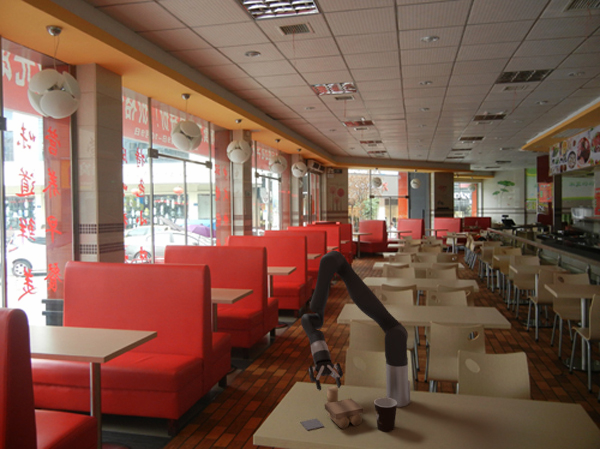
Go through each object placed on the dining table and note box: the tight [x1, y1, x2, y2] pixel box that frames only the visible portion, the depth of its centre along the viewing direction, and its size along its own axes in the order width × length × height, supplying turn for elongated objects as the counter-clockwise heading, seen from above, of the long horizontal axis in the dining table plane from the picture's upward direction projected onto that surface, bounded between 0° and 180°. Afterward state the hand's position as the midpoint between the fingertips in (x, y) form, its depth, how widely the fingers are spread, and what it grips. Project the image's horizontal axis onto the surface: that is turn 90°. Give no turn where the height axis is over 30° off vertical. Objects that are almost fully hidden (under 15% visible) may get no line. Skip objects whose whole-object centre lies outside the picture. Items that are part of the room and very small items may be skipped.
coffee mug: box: [373, 397, 398, 433], centre depth 180 cm, size 12×9×10 cm
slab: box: [324, 398, 364, 430], centre depth 184 cm, size 12×10×6 cm
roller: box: [326, 385, 339, 403], centre depth 193 cm, size 4×4×10 cm
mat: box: [300, 417, 325, 431], centre depth 182 cm, size 7×7×1 cm
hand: (329, 388), depth 196 cm, fingers open, 8 cm apart
